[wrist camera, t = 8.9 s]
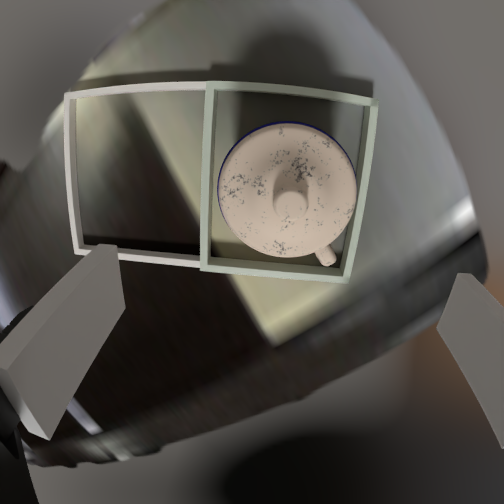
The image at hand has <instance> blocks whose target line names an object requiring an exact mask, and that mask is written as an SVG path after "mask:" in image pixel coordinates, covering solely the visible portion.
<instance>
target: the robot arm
mask: <svg viewBox="0 0 504 504" xmlns="http://www.w3.org/2000/svg"><path fill="white" fill-rule="evenodd" d="M124 310H125V303H124V297H123V290H122V283H121V276H120V268H119V260H118V251H117V245H108V244H98V245H97V246H96V247H95V248H94V249H93V250H92V251H91V252H89V253H88V254H87V255H86V256H85V257H84V258H83V259H82V260H81V261H80V262H79V263H78V264H77V265H75V266H74V267H73V268H72V269H71V270H70V271H69V272H68V273H67V274H66V275H65V276H64V277H63V278H62V279H61V280H60V281H59V282H58V283H57V284H56V285H55V286H54V287H53V288H52V289H51V290H50V291H49V292H48V293H47V294H46V295H45V296H44V297H43V298H42V299H41V300H40V301H39V302H38V303H37V304H36V305H35V306H30V307H28V308H27V309H25V310H23V311H22V312H20V313H19V314H18V315H17V316H16V317H15V318H14V319H13V320H12V321H11V322H10V325H7V326H6V328H5V329H4V330H3V331H2V334H1V333H0V504H39V502H38V499H37V496H36V494H35V490H34V487H33V484H32V481H31V477H30V473H29V470H28V466H27V462H26V458H25V454H24V450H23V446H22V441H21V436H20V433H19V431H18V429H17V427H16V426H17V424H18V422H19V421H20V419H21V421H22V422H23V424H24V425H25V427H26V428H27V430H28V431H29V432H31V433H33V434H36V435H38V436H40V437H43V438H45V439H47V440H50V439H51V437H52V435H53V433H54V431H55V429H56V427H57V425H58V423H59V421H60V419H61V417H62V415H63V413H64V412H65V410H66V408H67V406H68V404H69V402H70V401H71V399H72V397H73V395H74V393H75V391H76V390H77V388H78V386H79V384H80V383H81V381H82V379H83V377H84V376H85V374H86V372H87V370H88V369H89V367H90V365H91V363H92V362H93V360H94V358H95V357H96V355H97V353H98V352H99V350H100V348H101V347H102V345H103V343H104V342H105V340H106V338H107V337H108V335H109V333H110V332H111V330H112V329H113V327H114V325H115V324H116V322H117V321H118V319H119V317H120V316H121V314H122V313H123V311H124ZM436 329H437V331H438V332H439V334H440V335H441V337H442V339H443V340H444V342H445V344H446V345H447V347H448V349H449V350H450V352H451V354H452V355H453V357H454V358H455V360H456V362H457V364H458V365H459V367H460V369H461V371H462V372H463V374H464V376H465V378H466V379H467V381H468V383H469V385H470V386H471V388H472V390H473V392H474V394H475V396H476V397H477V399H478V401H479V403H480V405H481V407H482V409H483V411H484V413H485V414H486V417H487V419H488V420H489V423H490V425H491V427H492V429H493V431H494V433H495V435H496V437H497V439H498V441H499V444H500V446H501V448H502V449H503V448H504V308H503V306H502V305H501V304H500V303H499V302H498V301H497V300H496V299H495V298H494V297H493V296H492V295H491V294H490V293H489V292H488V291H487V289H486V288H485V287H484V286H483V285H482V284H481V283H480V282H479V281H478V280H477V279H476V278H475V277H474V276H473V275H472V274H465V273H458V274H457V277H456V280H455V282H454V285H453V288H452V291H451V293H450V296H449V299H448V301H447V304H446V306H445V309H444V311H443V314H442V316H441V319H440V321H439V323H438V326H437V328H436Z"/></svg>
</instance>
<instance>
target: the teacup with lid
mask: <svg viewBox="0 0 504 504" xmlns="http://www.w3.org/2000/svg"><path fill="white" fill-rule="evenodd" d="M217 193H218V202H219V206H220V209H221V212H222V215H223V217H224V219H225V221H226V223H227V224H228V226H229V227H230V229H231V230H232V231H233V232H234V233H235V235H236V236H237V237H238V238H239V239H240V240H242V241H243V242H244V243H245V244H247V245H248V246H250V247H251V248H253V249H255V250H257V251H259V252H261V253H264V254H267V255H271V256H276V257H299V256H304V255H308V254H311V253H315V254H316V256H317V258H318V259H319V261H320V262H321V264H322V265H324V266H329V265H331V264H333V263H335V261H336V255H335V253H334V251H333V248H332V246H331V244H330V243H331V242H332V241H333V240H335V239H336V238H337V237H338V236H339V235H340V234H341V232H342V231H343V230H344V228H345V227H346V225H347V224H348V222H349V220H350V218H351V216H352V213H353V211H354V207H355V203H356V198H357V181H356V175H355V171H354V168H353V165H352V163H351V160H350V158H349V157H348V155H347V153H346V152H345V150H344V149H343V148H342V146H341V145H340V144H339V143H338V142H337V141H336V140H335V139H334V138H333V137H331V136H330V135H329V134H327V133H326V132H324V131H322V130H321V129H318V128H316V127H314V126H311V125H308V124H305V123H301V122H293V121H282V122H274V123H270V124H266V125H263V126H260V127H258V128H256V129H254V130H252V131H250V132H249V133H247V134H246V135H244V136H243V137H242V138H241V139H240V140H239V141H238V142H237V143H236V144H235V145H234V146H233V147H232V148H231V149H230V151H229V152H228V154H227V155H226V157H225V159H224V161H223V164H222V166H221V169H220V173H219V177H218V185H217Z"/></svg>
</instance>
